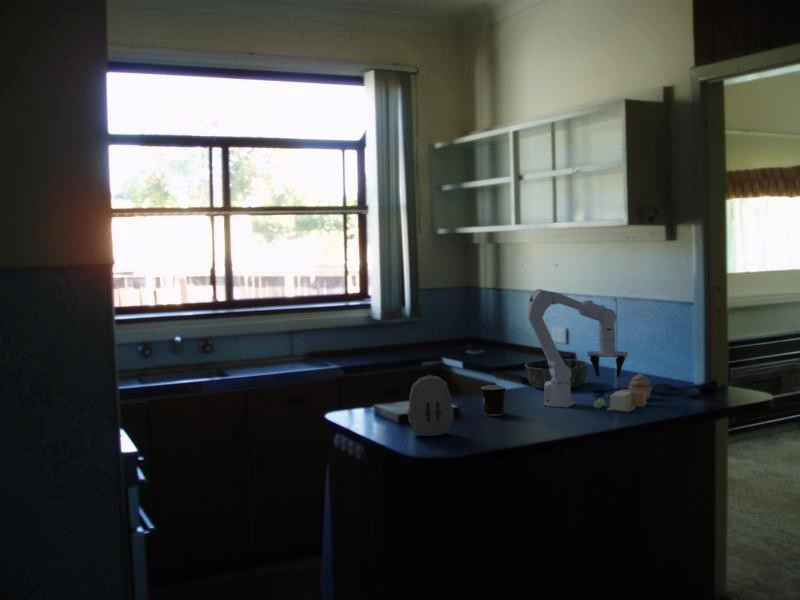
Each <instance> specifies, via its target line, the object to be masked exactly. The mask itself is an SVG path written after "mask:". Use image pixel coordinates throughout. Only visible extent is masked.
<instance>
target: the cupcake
mask: <svg viewBox="0 0 800 600" xmlns="http://www.w3.org/2000/svg"><path fill="white" fill-rule="evenodd" d="M650 381H651V380H649V379H648V377H645V376H644V375H643V374H642V373H640V372H638V374H637V375H635V376H634V377H632V378H631V380H630V381H629V385H627V390H646V401H647V400H649V399H650V396H651V392H652V389H653V388H654V386H653V385H651V382H650Z"/></svg>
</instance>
